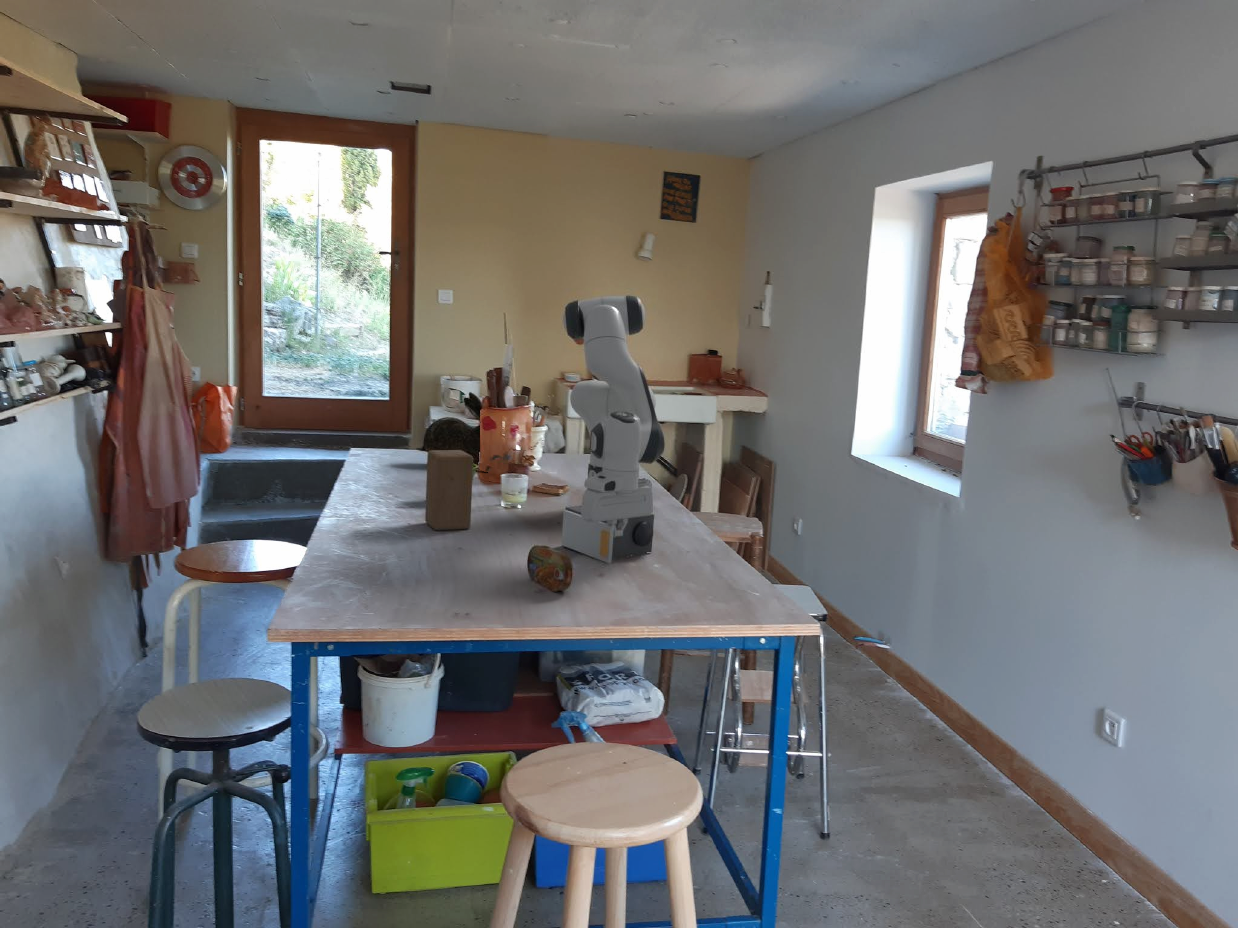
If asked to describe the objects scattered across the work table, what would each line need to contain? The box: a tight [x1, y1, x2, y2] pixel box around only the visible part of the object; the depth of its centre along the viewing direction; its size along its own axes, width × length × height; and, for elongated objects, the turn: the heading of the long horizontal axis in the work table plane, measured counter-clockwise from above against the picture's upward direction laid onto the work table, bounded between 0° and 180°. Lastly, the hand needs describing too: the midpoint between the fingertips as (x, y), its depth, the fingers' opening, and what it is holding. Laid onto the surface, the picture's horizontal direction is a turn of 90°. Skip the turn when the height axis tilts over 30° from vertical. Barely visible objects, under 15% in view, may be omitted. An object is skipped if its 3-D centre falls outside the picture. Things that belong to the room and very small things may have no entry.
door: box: [561, 509, 614, 564], centre depth 233 cm, size 2×18×9 cm, turn 41°
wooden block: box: [424, 450, 474, 532], centre depth 252 cm, size 10×10×20 cm
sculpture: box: [416, 391, 483, 466], centre depth 337 cm, size 19×29×27 cm, turn 57°
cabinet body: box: [564, 504, 655, 560], centre depth 240 cm, size 16×17×10 cm
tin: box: [526, 545, 574, 593], centre depth 207 cm, size 15×3×8 cm, turn 36°
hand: (616, 536), depth 229 cm, fingers closed
